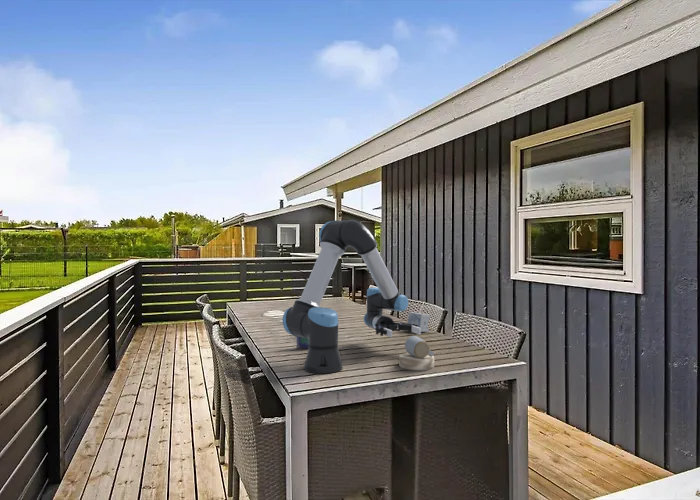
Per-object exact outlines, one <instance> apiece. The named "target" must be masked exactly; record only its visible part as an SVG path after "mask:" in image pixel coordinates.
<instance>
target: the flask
mask: <svg viewBox="0 0 700 500" xmlns="http://www.w3.org/2000/svg"><path fill="white" fill-rule="evenodd" d="M296 349H299V350H308V349H309V339H306V338H302V337H296Z"/></svg>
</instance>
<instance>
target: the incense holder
mask: <svg viewBox="0 0 700 500" xmlns="http://www.w3.org/2000/svg"><path fill="white" fill-rule="evenodd" d="M430 318H431V315H430V314H428V313H427V314H425V313H420V312H415V311H408V315H407V323H408V324H415V325H418V327H419V328H421V333H429V332H430V329H429V320H430Z"/></svg>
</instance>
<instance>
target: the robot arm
mask: <svg viewBox="0 0 700 500" xmlns="http://www.w3.org/2000/svg"><path fill="white" fill-rule="evenodd" d="M318 234H319V235H318V237H319V242H320V243H319V246H320V251H319V253H318V256H317V258H316V260H315V263H314V265H313V268H312V270H311V273H310V275H309V277H308V279H307V281H306V284H305V286H304V289H303V291H302V293H301V296H300V298H298V299H296V300H295V301H294V303H293V306H290V307H288V308H287V309H286V310H285V311H284V313H283V315H282V321H281V322H282V326H283V329H284V331H285V332H286V333H287V334H288V335H291V336H294V337H296V338H297V337H302V338H306V339H309V349H307V354H306V357H305V358H306V359H305V360H304V363H303V365H304V366H303V369H304V370H305V372H308V373H312V374H313V373H314V374H332V373H337V372H340V371H342V369H343V365H344V364H343V363H344V362H343V360H342V359H341V358H342V357H341V354H340V351H339V317H338V316H339V315H338V313H337V311H336V310H334V309H332V308H330V307H329V308H328V307H323V306H322V307H321V306H320V305H321V302H322V300H323V297H324V295H325V293H326V290H327V288H328V286H329V283H330V281H331V278H332V275H333V273H334V271H335V268H336V266H337V264H338V261H339V259H340V257H341V256H343V255H345V253H346V251H347V249H348V248H353V250H355V252H356V254H357V255H358V256H360V257H361V258H362V260H363V262H364V264H365V265H366V268H367V269H368V271H369V273H370V275H371V277H372V279H373V281H374V283H375V285H376V287H369V288H367V290H366V313H365V314H364V316H363V322H364V324H365V325H366V326H367V327H368V328H370V329H374V330H375V334H376V335H380V337H381V336H384V335H385V336H387V337H389V338H393V332H399V331H409V332H411V333H414V334H417V335H421V334H422V332H421V328H419V327H418V325H415V324H408V322H402V321H400V322H396V321H394V320H393V319H392V318H391V317H389V316H387V315H384V314H383V312H384V311H383V310H386V311H387V310H388V311H394V312H404V311H406V309H407V308H408V306H409V299H408V297H407V295H404V294H400V291H399V289H398V288H397V286H396V284H395V281H394V279H393V278H392V275H391V273H390V271H389V270H388V268H387V266H386V264H385V261H384V260H383V258H382V256H381V254H380V252H379V250H378V248H377V247H378V242H377V241H376V238H375V236H374V235H373V234H372V232H371V231H370V230H369V228H368V227H366V226H365V225H364V224H363V223H362V222H360V221H357V220H354V219H348V220H347V219H346V220H332V221H331V220H330V221H327V222H325V223H324V224H323V225H322V226H321V228H320V230H319V233H318Z"/></svg>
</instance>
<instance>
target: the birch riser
mask: <svg viewBox="0 0 700 500" xmlns="http://www.w3.org/2000/svg"><path fill="white" fill-rule="evenodd" d="M398 364H399V365H398V366H399V367H400V368H402V369H404V370H409V371H428V370H431V369H434V368H435V356H434V355H433V356H431V355H427V356H426V357H424V358H417V357H415V356H413V355H411V354H409V353H408V352H404V353H400V354H399V356H398Z"/></svg>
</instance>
